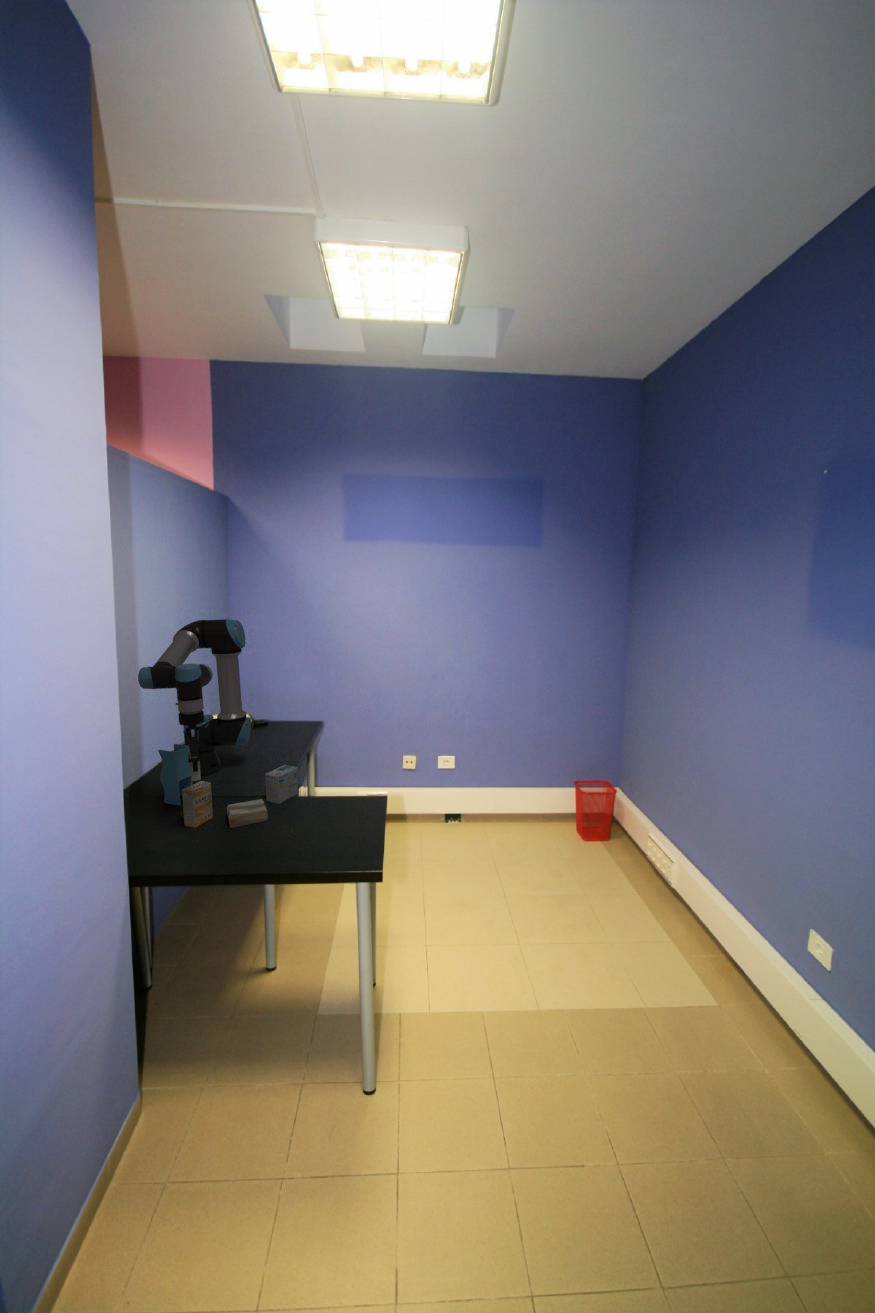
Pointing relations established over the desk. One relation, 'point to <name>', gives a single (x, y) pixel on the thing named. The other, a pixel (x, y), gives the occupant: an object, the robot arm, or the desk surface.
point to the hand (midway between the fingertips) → (195, 773)
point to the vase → (175, 773)
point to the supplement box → (197, 804)
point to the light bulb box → (281, 784)
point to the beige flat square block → (247, 813)
